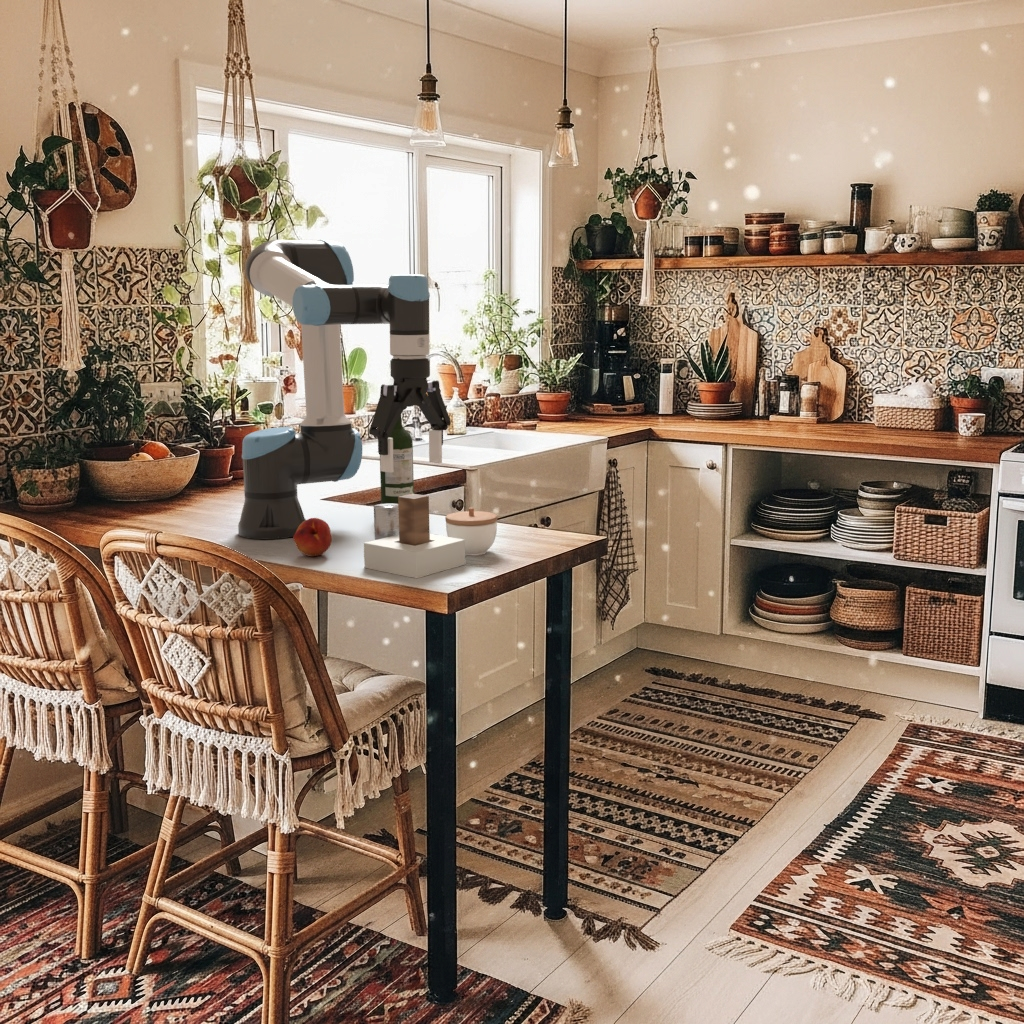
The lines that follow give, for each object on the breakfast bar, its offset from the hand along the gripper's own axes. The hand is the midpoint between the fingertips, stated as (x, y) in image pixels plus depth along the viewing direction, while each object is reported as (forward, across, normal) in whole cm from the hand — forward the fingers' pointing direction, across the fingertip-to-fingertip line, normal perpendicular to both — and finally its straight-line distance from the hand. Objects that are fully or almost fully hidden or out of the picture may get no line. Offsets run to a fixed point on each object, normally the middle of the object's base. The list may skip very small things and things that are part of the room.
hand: (411, 467), depth 220 cm
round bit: (+20, +5, +11) cm, 23 cm away
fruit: (+20, -6, +22) cm, 31 cm away
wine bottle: (+21, +34, +37) cm, 54 cm away
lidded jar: (+20, +16, -2) cm, 25 cm away
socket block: (+20, 0, -1) cm, 20 cm away
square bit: (+20, 0, -1) cm, 20 cm away
